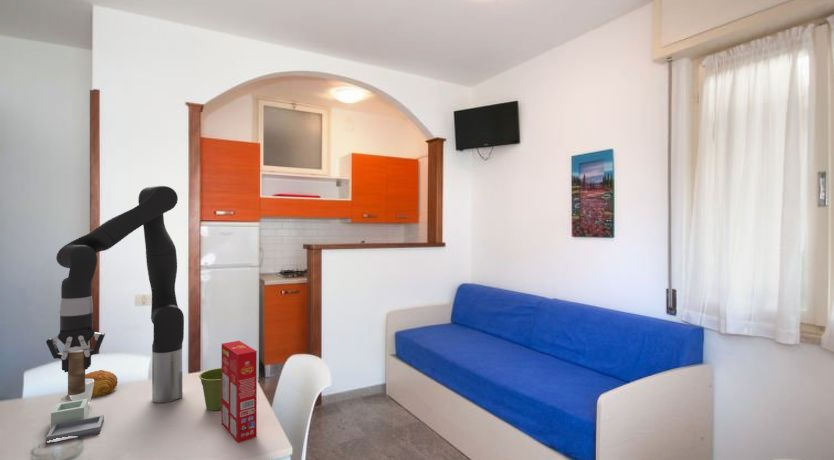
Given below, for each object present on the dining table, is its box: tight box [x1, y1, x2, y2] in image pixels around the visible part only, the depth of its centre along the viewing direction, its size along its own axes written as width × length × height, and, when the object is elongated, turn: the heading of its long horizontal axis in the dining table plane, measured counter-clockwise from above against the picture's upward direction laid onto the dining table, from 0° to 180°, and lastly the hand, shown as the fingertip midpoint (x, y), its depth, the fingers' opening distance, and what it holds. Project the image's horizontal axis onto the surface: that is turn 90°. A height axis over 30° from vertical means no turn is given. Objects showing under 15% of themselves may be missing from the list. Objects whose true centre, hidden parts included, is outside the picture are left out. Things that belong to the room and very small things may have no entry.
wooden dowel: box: [67, 349, 86, 396], centre depth 124 cm, size 4×4×12 cm
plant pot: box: [198, 367, 222, 411], centre depth 142 cm, size 12×12×11 cm
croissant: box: [85, 369, 119, 398], centre depth 155 cm, size 14×16×8 cm
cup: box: [68, 379, 94, 406], centre depth 142 cm, size 7×10×8 cm
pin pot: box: [50, 399, 89, 429], centre depth 130 cm, size 8×8×5 cm
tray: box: [45, 414, 105, 442], centre depth 124 cm, size 12×9×2 cm
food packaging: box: [221, 340, 258, 444], centre depth 125 cm, size 15×5×25 cm, turn 42°
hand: (76, 369), depth 124 cm, fingers closed on wooden dowel, 4 cm apart
